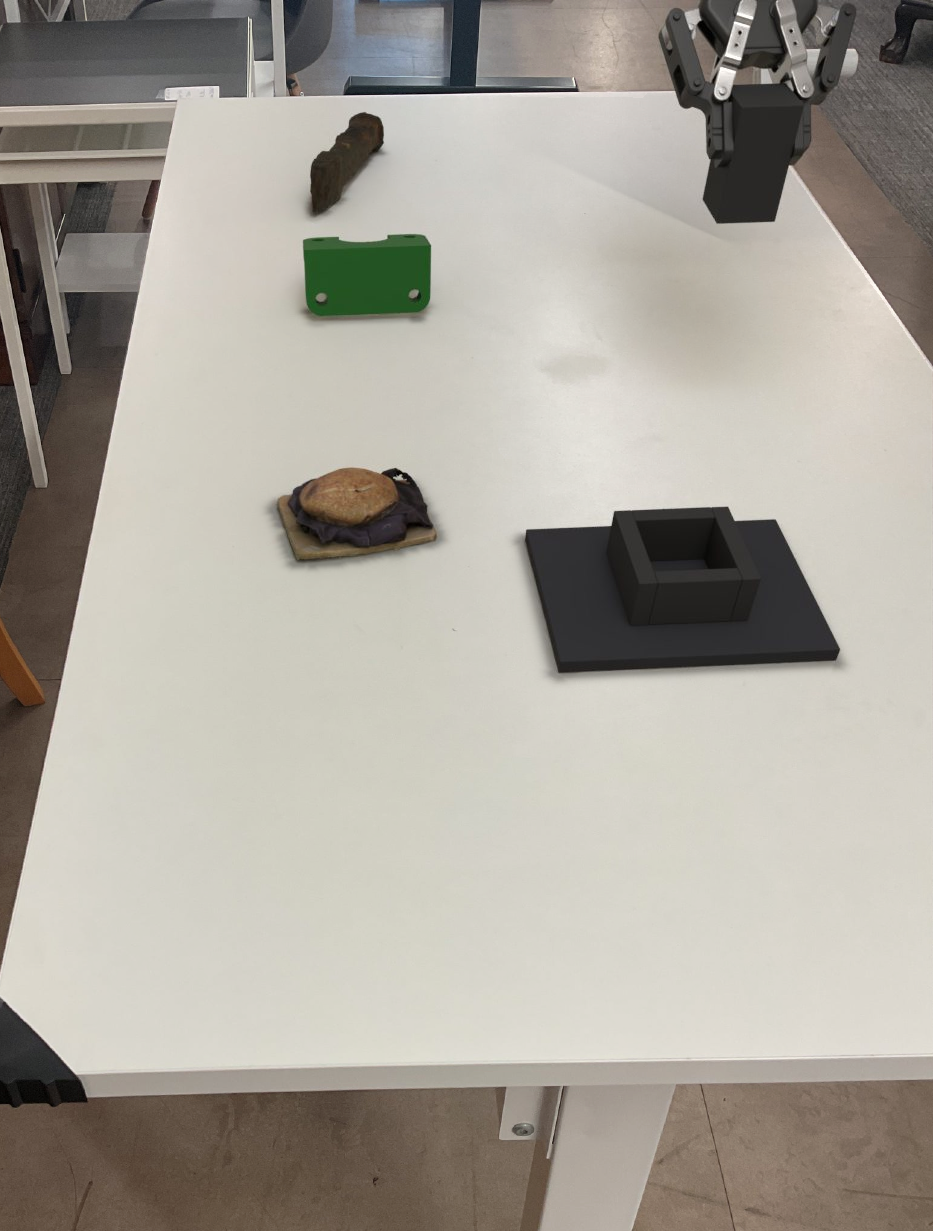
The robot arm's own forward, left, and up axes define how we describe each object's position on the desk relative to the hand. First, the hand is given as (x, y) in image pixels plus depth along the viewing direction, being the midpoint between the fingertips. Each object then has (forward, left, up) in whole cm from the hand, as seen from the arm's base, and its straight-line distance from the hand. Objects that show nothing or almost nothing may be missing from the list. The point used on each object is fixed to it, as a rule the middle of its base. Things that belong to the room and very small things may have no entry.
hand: (759, 160), depth 85 cm
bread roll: (+30, +17, -18) cm, 39 cm away
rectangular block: (0, -2, -4) cm, 5 cm away
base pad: (+9, +27, -18) cm, 33 cm away
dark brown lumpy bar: (+27, -44, -18) cm, 55 cm away
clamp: (+27, -17, -18) cm, 37 cm away
